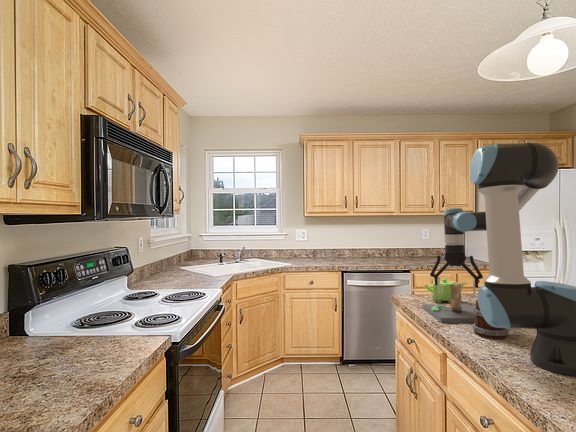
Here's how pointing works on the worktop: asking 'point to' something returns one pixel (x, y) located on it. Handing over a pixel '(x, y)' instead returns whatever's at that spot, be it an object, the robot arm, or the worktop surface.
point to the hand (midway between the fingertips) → (456, 294)
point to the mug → (487, 327)
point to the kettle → (442, 290)
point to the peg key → (455, 298)
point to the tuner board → (451, 313)
